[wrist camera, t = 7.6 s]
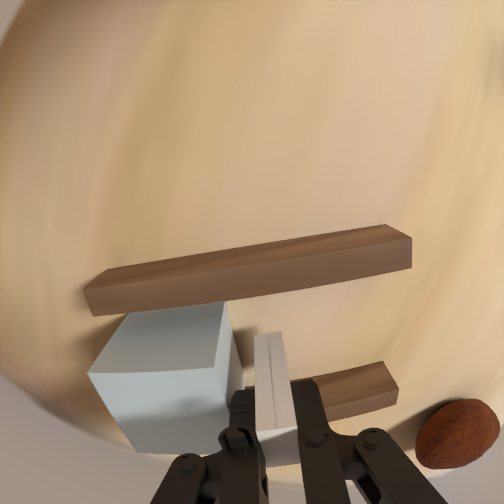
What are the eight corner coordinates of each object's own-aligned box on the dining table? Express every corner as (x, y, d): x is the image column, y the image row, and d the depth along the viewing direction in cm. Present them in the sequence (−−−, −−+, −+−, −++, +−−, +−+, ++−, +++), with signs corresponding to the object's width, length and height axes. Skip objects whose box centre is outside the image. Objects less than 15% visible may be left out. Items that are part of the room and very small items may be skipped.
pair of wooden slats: (107, 269, 16) (83, 289, 13) (385, 224, 15) (411, 237, 12) (162, 407, 19) (152, 436, 16) (381, 376, 18) (395, 404, 16)
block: (129, 312, 17) (86, 372, 11) (224, 299, 16) (213, 367, 11) (159, 386, 18) (137, 452, 13) (244, 379, 18) (243, 452, 12)
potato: (452, 434, 22) (475, 474, 16) (391, 441, 21) (413, 492, 15) (489, 387, 20) (520, 425, 14) (433, 387, 19) (467, 439, 13)
